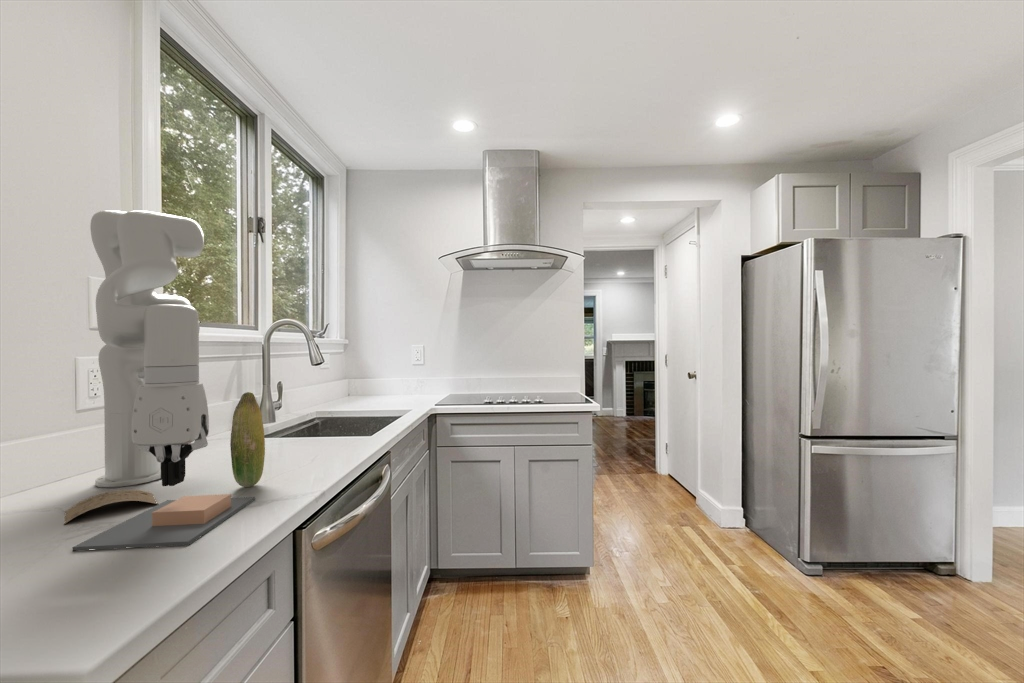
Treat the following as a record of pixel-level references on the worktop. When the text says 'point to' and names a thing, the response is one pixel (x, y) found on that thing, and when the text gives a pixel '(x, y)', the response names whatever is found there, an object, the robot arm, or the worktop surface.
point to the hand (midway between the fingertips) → (173, 483)
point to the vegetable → (247, 441)
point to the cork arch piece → (107, 501)
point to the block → (191, 510)
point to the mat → (157, 530)
